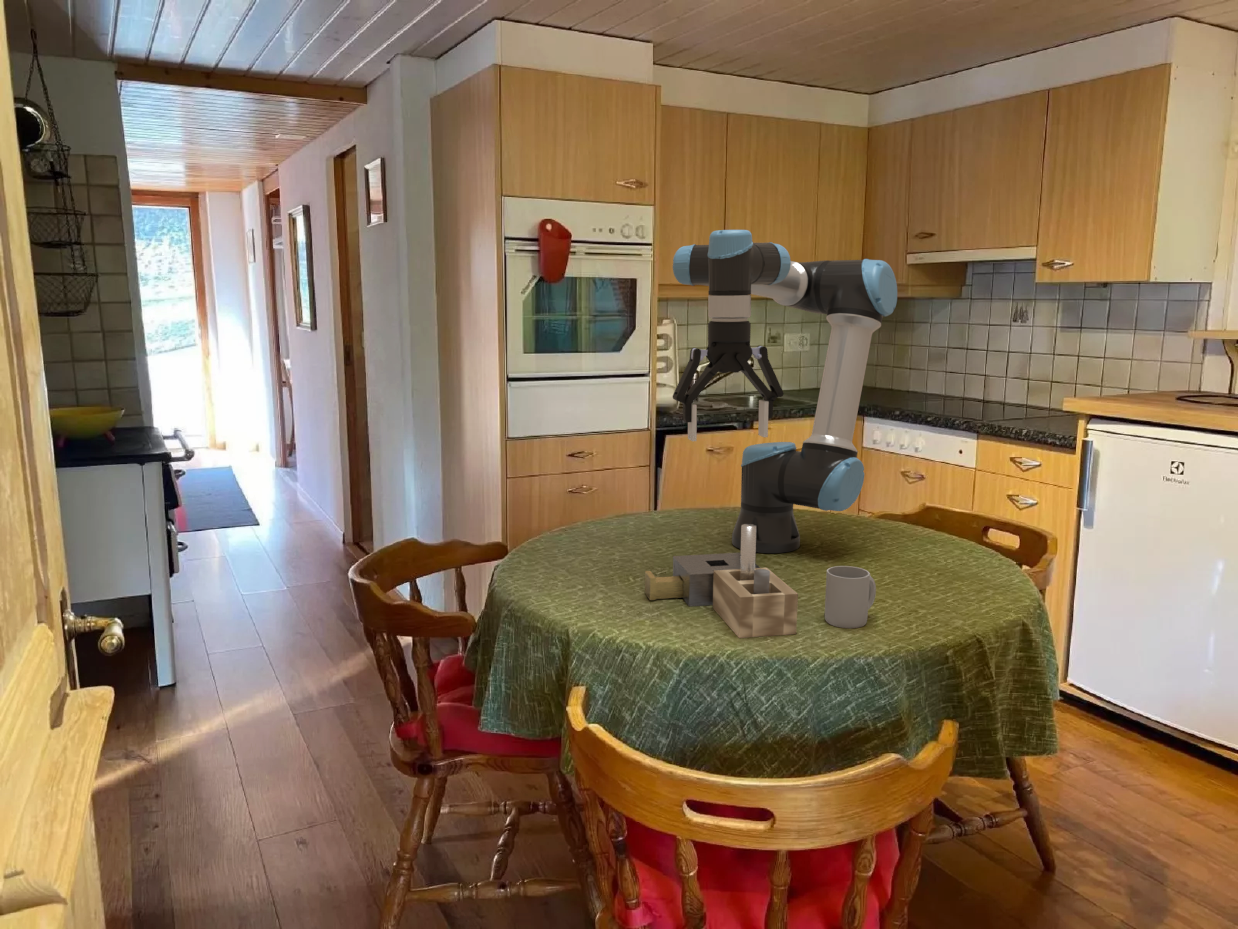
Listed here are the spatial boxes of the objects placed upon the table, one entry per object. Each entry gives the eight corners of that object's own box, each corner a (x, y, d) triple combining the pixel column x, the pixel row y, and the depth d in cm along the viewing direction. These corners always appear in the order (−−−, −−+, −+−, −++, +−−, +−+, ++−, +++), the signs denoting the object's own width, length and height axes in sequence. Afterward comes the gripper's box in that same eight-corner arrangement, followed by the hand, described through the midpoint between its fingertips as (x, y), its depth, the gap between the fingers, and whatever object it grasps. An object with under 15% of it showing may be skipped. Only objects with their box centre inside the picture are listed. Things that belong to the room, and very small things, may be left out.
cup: (815, 618, 162) (817, 569, 160) (858, 609, 166) (861, 561, 165) (844, 631, 155) (846, 580, 154) (888, 621, 160) (890, 572, 158)
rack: (765, 604, 169) (767, 551, 167) (796, 633, 154) (798, 576, 152) (712, 607, 167) (713, 554, 165) (739, 637, 152) (740, 579, 151)
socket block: (741, 581, 182) (742, 552, 181) (762, 601, 170) (763, 570, 169) (672, 585, 179) (673, 556, 178) (689, 606, 168) (689, 574, 166)
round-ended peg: (750, 610, 166) (753, 523, 163) (755, 615, 163) (758, 527, 160) (736, 611, 165) (739, 524, 162) (741, 616, 163) (744, 528, 160)
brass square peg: (696, 590, 176) (696, 568, 175) (702, 597, 172) (703, 575, 171) (644, 593, 174) (645, 571, 173) (650, 600, 170) (650, 578, 169)
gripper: (786, 317, 170) (783, 431, 174) (655, 320, 164) (656, 438, 168) (803, 319, 163) (800, 437, 167) (667, 322, 157) (667, 445, 161)
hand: (727, 438), depth 168 cm, fingers open, 13 cm apart
